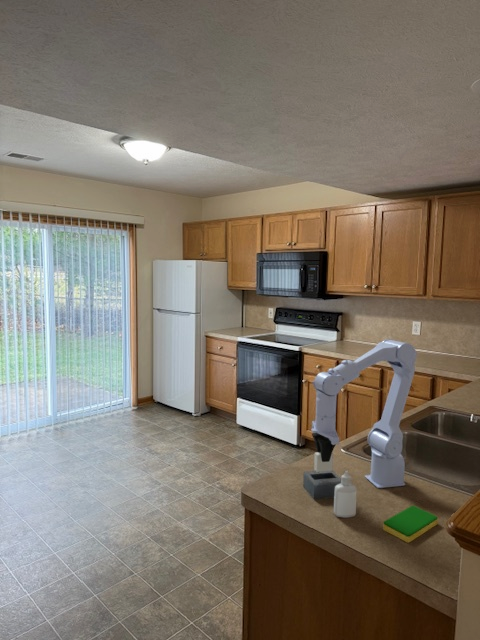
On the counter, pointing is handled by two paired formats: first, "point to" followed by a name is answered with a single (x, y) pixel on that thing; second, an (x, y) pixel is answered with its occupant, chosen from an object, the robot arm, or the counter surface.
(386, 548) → the counter surface
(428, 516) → the dish sponge
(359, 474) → the counter surface
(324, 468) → the block
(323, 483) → the slot box
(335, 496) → the eye dropper bottle
